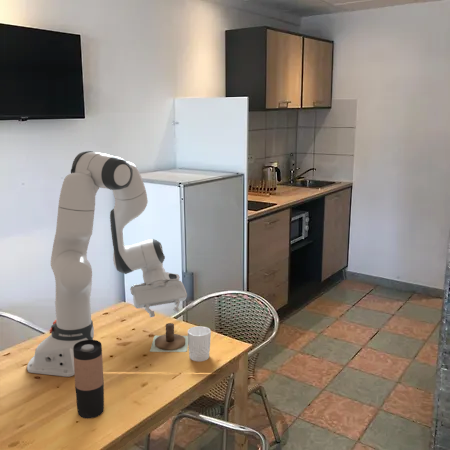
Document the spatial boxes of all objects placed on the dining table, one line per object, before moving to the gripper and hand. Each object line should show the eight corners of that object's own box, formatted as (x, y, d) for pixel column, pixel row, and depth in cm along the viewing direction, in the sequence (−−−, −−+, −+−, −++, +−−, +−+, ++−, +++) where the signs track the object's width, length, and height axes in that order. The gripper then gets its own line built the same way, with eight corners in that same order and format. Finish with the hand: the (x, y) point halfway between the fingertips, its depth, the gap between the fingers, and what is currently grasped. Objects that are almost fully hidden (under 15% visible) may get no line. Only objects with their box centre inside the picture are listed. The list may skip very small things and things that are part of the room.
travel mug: (83, 402, 145) (80, 338, 140) (109, 404, 144) (106, 340, 139) (72, 418, 137) (67, 350, 133) (98, 420, 136) (95, 352, 132)
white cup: (207, 364, 167) (207, 336, 165) (185, 362, 169) (184, 334, 167) (213, 353, 175) (213, 327, 173) (191, 351, 176) (191, 325, 174)
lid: (153, 350, 176) (152, 331, 174) (156, 336, 187) (156, 318, 185) (184, 350, 176) (184, 331, 175) (186, 336, 187) (186, 318, 185)
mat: (149, 352, 175) (149, 351, 175) (154, 336, 188) (154, 335, 188) (186, 353, 175) (186, 351, 175) (189, 337, 188) (189, 335, 188)
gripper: (130, 281, 184) (138, 315, 178) (182, 274, 193) (192, 306, 186) (128, 288, 189) (135, 322, 183) (178, 281, 198) (188, 313, 191)
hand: (164, 314), depth 185 cm, fingers open, 8 cm apart
